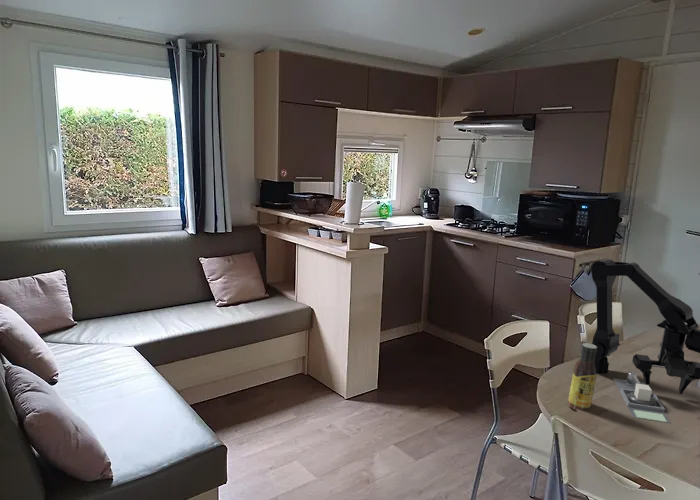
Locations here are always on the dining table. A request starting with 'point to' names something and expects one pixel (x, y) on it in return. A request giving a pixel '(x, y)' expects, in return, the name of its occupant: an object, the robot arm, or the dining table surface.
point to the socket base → (637, 409)
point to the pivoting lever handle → (632, 378)
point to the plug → (642, 395)
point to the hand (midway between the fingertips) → (663, 391)
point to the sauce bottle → (583, 379)
